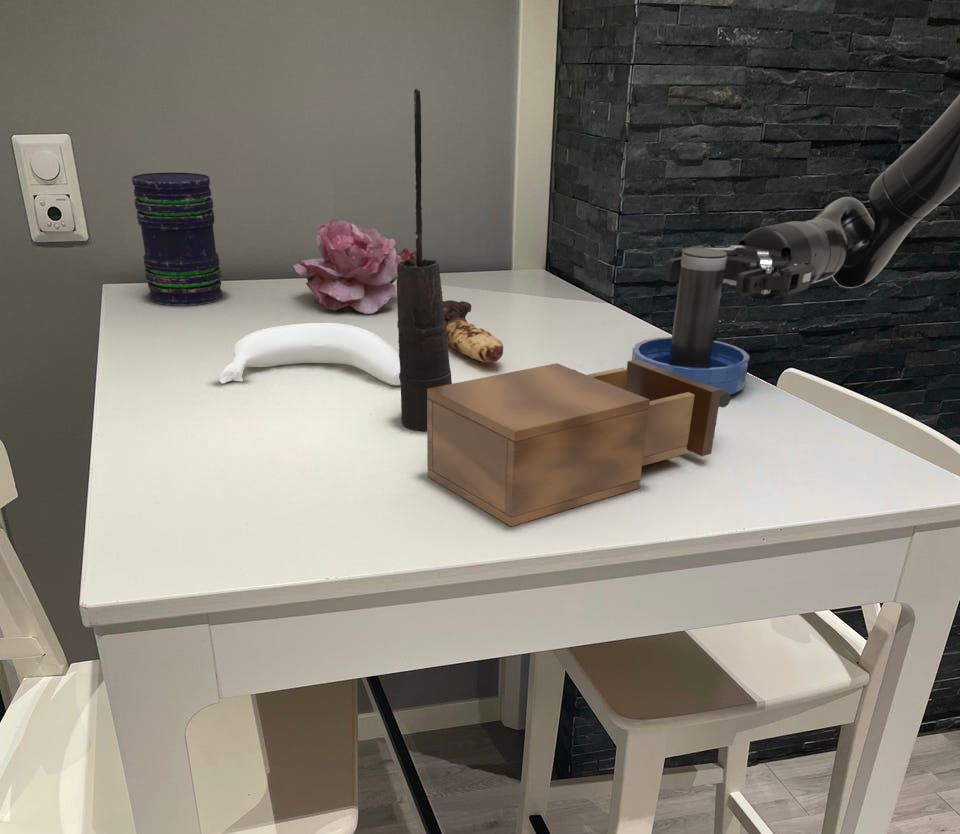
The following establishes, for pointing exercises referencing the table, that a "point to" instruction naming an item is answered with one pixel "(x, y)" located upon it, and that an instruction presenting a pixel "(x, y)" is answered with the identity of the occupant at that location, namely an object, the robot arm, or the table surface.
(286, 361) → the banana
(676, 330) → the pepper mill
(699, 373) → the bowl
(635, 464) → the cabinet
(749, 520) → the table surface
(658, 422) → the drawer
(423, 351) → the butter churn
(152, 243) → the storage jar
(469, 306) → the tan mottled elongated piece
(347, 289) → the flower
